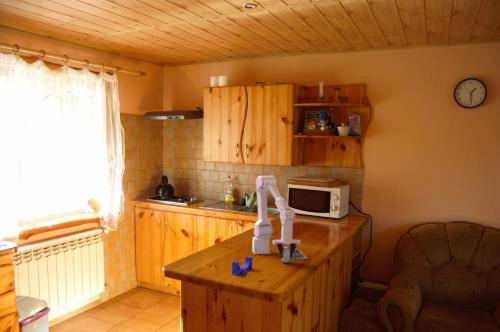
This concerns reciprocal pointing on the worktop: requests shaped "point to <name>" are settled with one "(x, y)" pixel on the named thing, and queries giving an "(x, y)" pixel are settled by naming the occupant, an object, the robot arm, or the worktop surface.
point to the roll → (286, 255)
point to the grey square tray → (298, 255)
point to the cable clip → (247, 266)
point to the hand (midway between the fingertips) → (285, 257)
